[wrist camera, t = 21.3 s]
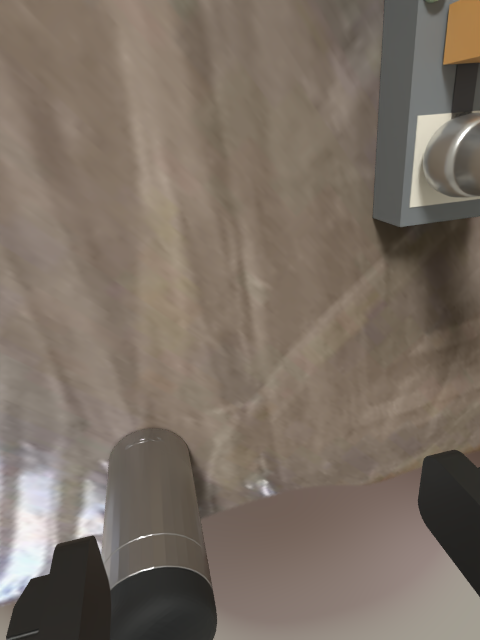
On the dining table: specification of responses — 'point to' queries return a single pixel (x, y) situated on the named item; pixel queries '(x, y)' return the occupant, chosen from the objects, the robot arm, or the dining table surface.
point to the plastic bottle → (455, 157)
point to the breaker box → (418, 112)
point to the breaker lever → (463, 33)
